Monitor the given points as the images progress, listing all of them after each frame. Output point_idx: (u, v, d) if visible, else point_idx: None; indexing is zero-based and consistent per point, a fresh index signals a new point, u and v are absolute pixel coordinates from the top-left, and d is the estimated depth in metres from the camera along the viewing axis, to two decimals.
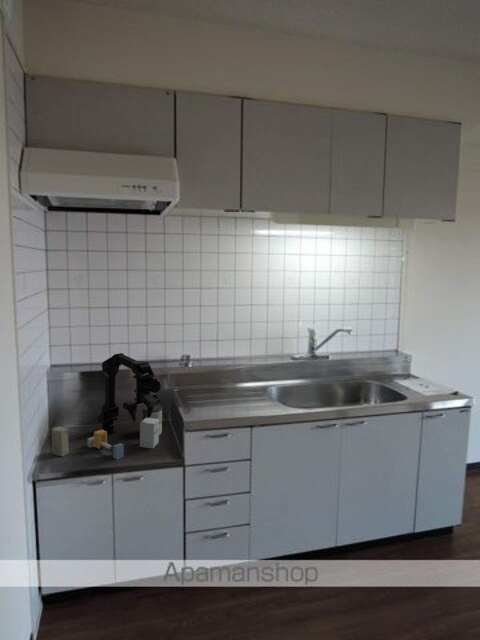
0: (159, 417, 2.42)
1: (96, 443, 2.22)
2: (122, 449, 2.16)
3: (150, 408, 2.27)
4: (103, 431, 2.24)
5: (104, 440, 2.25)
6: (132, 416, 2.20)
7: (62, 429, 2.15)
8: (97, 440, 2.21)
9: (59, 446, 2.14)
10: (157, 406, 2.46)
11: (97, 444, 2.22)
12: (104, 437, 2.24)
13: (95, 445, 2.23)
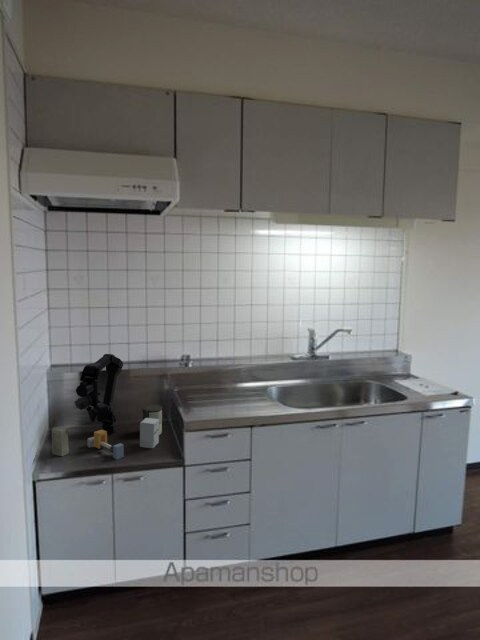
0: (159, 417, 2.42)
1: (96, 443, 2.22)
2: (122, 449, 2.16)
3: None
4: (103, 431, 2.24)
5: (104, 440, 2.25)
6: None
7: (62, 429, 2.15)
8: (97, 440, 2.21)
9: (59, 446, 2.14)
10: (157, 406, 2.46)
11: (97, 444, 2.22)
12: (104, 437, 2.24)
13: (95, 445, 2.23)
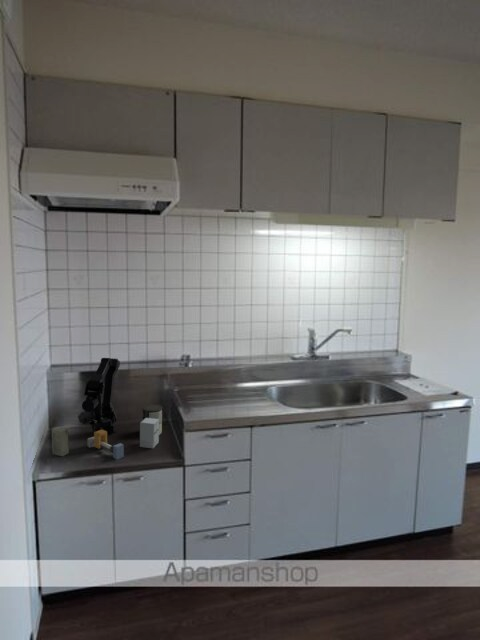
0: (159, 417, 2.42)
1: (97, 443, 2.22)
2: (122, 449, 2.16)
3: None
4: (103, 431, 2.24)
5: (104, 440, 2.24)
6: None
7: (62, 429, 2.15)
8: (97, 440, 2.21)
9: (59, 446, 2.14)
10: (157, 406, 2.46)
11: (97, 444, 2.22)
12: (104, 437, 2.24)
13: (95, 445, 2.23)
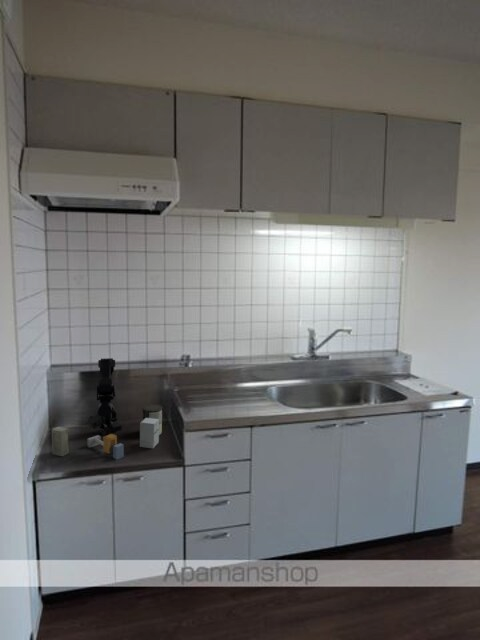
0: (159, 417, 2.42)
1: (106, 448, 2.17)
2: (122, 449, 2.16)
3: None
4: (113, 435, 2.19)
5: None
6: None
7: (62, 429, 2.15)
8: (107, 444, 2.17)
9: (59, 446, 2.14)
10: (157, 406, 2.46)
11: (107, 449, 2.17)
12: (114, 442, 2.19)
13: (105, 450, 2.18)
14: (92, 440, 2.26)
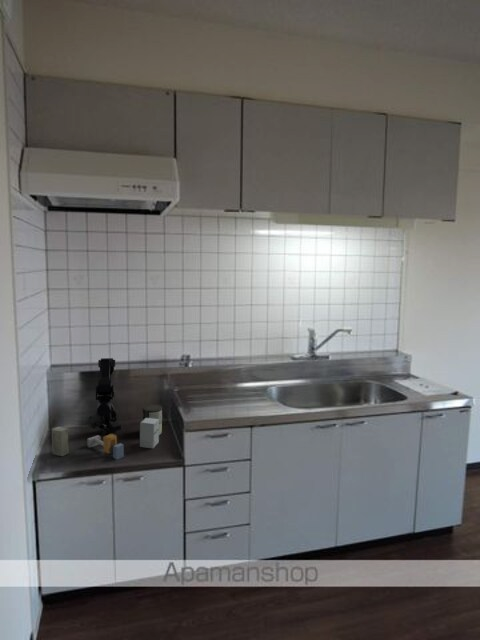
0: (159, 417, 2.42)
1: (106, 448, 2.17)
2: (122, 449, 2.16)
3: None
4: (113, 435, 2.19)
5: None
6: None
7: (62, 429, 2.15)
8: (107, 444, 2.17)
9: (59, 446, 2.14)
10: (157, 406, 2.46)
11: (107, 449, 2.17)
12: (114, 442, 2.19)
13: (105, 450, 2.18)
14: (92, 440, 2.26)
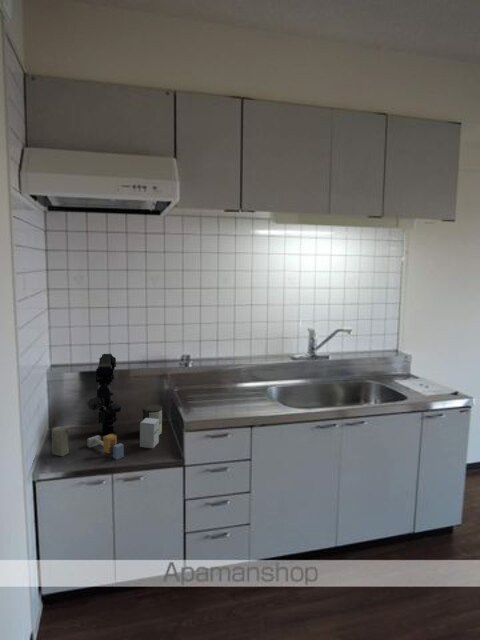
0: (159, 417, 2.42)
1: (106, 448, 2.17)
2: (122, 449, 2.16)
3: None
4: (113, 435, 2.19)
5: None
6: None
7: (62, 429, 2.15)
8: (107, 444, 2.17)
9: (59, 446, 2.14)
10: (157, 406, 2.46)
11: (107, 449, 2.17)
12: (114, 442, 2.19)
13: (105, 450, 2.18)
14: (92, 440, 2.26)
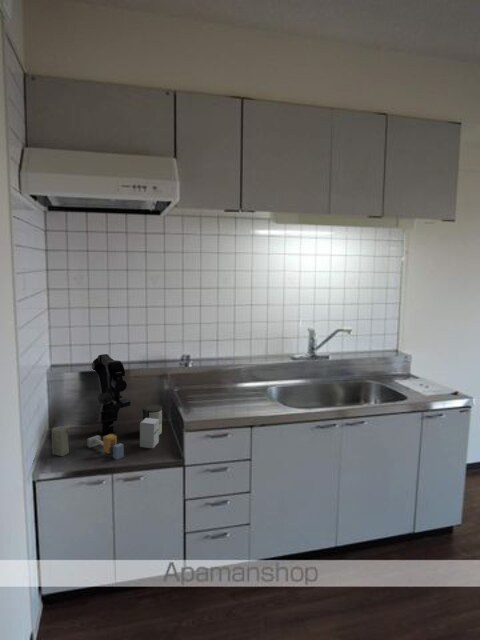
0: (159, 417, 2.42)
1: (106, 448, 2.17)
2: (122, 449, 2.16)
3: None
4: (113, 435, 2.19)
5: None
6: None
7: (62, 429, 2.15)
8: (107, 444, 2.17)
9: (59, 446, 2.14)
10: (157, 406, 2.46)
11: (107, 449, 2.17)
12: (114, 442, 2.19)
13: (105, 450, 2.18)
14: (92, 440, 2.26)
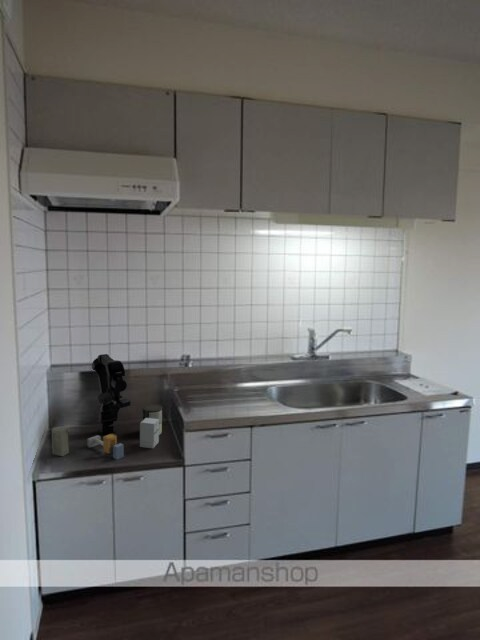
0: (159, 417, 2.42)
1: (106, 448, 2.17)
2: (122, 449, 2.16)
3: None
4: (113, 435, 2.19)
5: None
6: None
7: (62, 429, 2.15)
8: (107, 444, 2.17)
9: (59, 446, 2.14)
10: (157, 406, 2.46)
11: (107, 449, 2.17)
12: (114, 442, 2.19)
13: (105, 450, 2.18)
14: (92, 440, 2.26)
